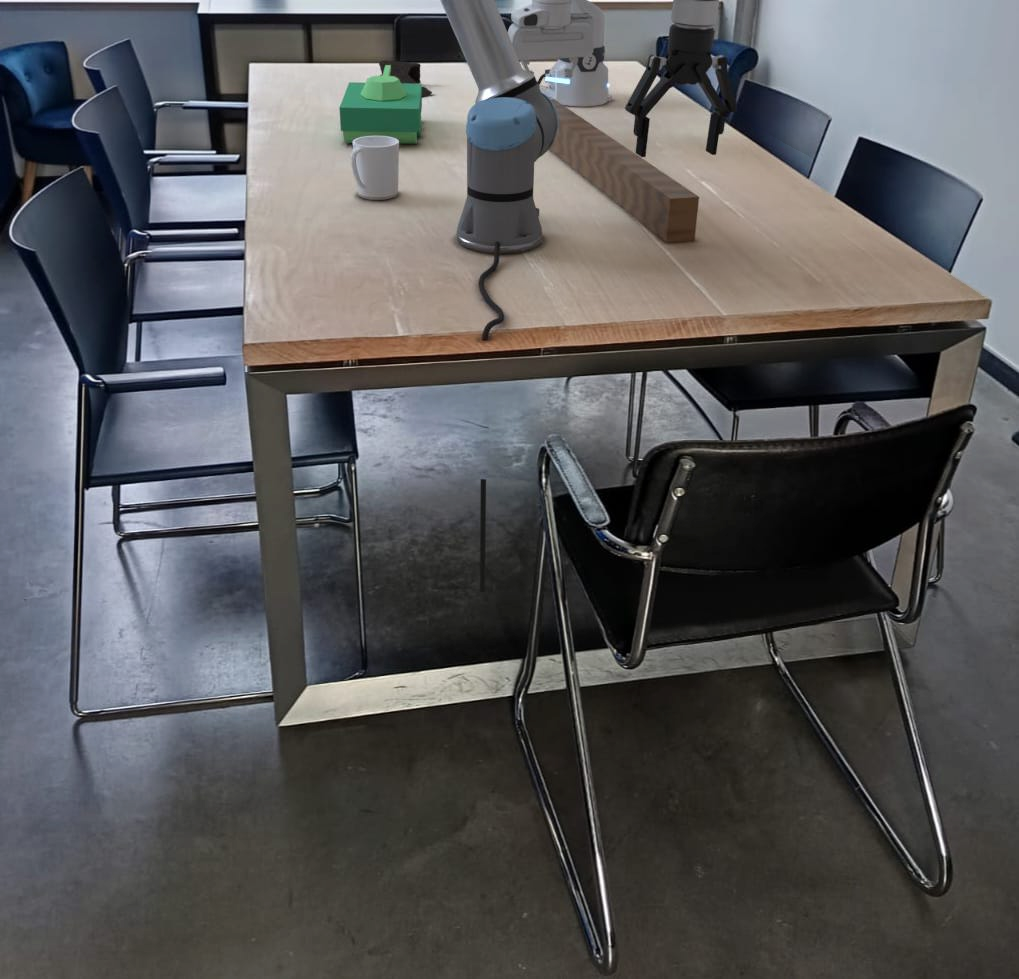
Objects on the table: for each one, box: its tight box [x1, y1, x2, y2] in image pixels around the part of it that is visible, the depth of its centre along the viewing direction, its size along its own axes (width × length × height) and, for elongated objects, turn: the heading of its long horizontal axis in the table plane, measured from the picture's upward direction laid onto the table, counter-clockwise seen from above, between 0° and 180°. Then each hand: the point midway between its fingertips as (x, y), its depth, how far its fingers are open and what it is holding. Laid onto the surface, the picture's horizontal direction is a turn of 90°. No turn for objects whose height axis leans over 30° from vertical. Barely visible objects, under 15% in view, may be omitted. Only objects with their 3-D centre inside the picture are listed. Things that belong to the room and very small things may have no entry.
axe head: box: [378, 59, 433, 97], centre depth 299 cm, size 18×8×15 cm
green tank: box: [339, 65, 423, 145], centre depth 261 cm, size 18×12×35 cm
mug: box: [350, 136, 400, 201], centre depth 214 cm, size 11×9×10 cm
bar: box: [548, 99, 700, 244], centre depth 228 cm, size 81×6×8 cm, turn 17°
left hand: (675, 154), depth 193 cm, fingers open, 13 cm apart
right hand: (548, 78), depth 253 cm, fingers open, 8 cm apart
